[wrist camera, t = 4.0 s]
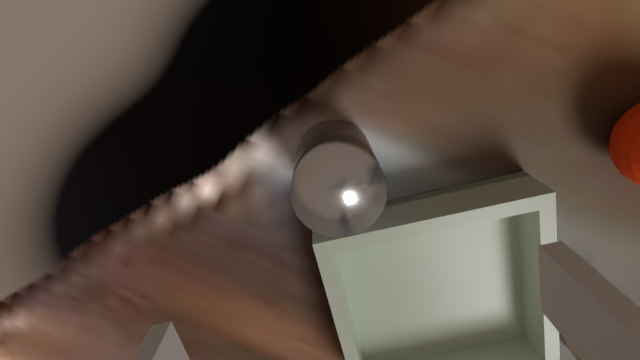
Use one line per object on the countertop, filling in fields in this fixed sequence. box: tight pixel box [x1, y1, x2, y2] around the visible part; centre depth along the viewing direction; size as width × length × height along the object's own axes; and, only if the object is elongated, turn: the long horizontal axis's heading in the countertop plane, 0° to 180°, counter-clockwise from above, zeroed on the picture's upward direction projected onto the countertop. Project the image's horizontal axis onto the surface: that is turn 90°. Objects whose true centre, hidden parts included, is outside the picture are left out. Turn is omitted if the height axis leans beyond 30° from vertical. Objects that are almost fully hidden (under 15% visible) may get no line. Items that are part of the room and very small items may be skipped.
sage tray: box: [312, 171, 560, 360], centre depth 33 cm, size 18×18×4 cm
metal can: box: [290, 119, 387, 237], centre depth 27 cm, size 6×6×8 cm
